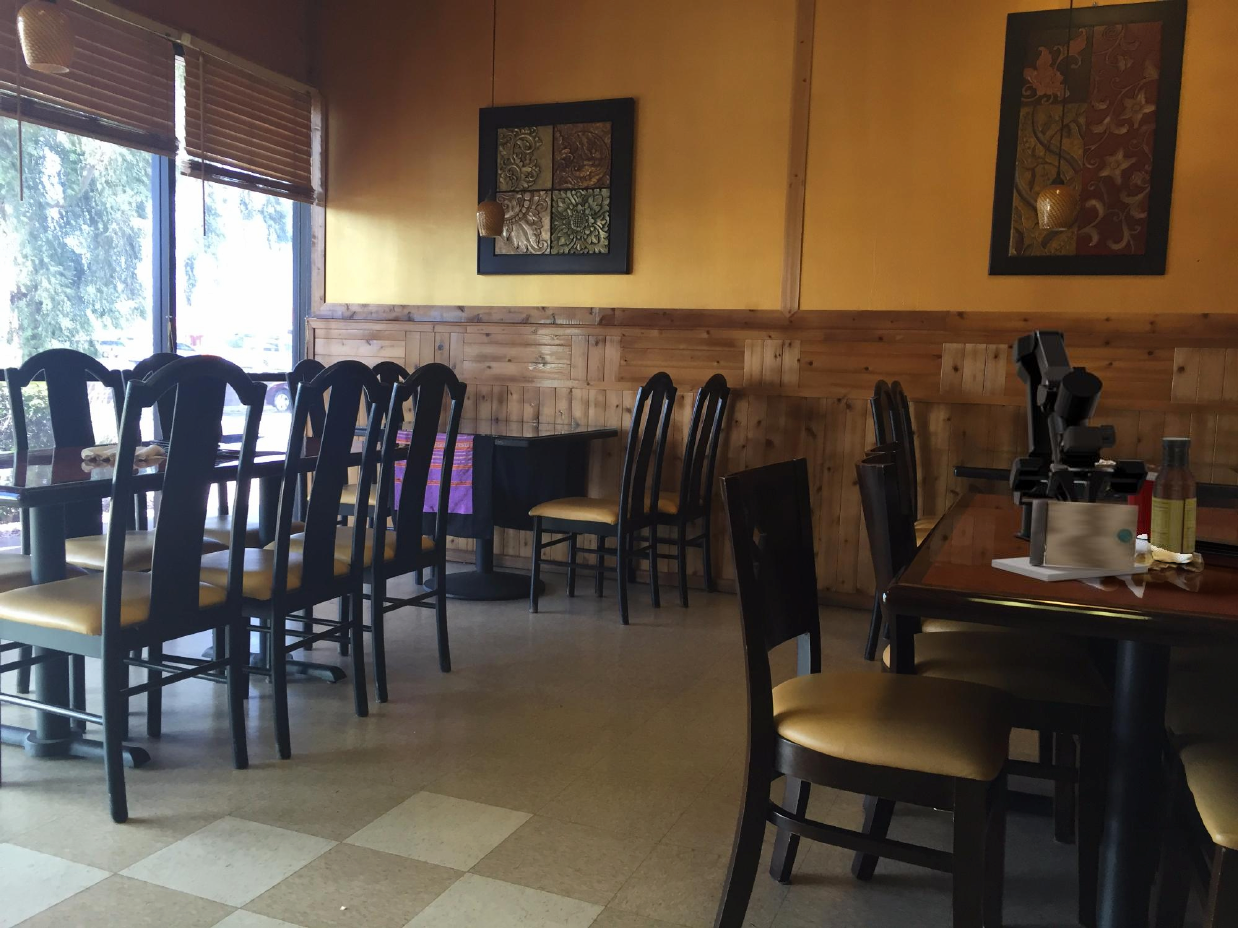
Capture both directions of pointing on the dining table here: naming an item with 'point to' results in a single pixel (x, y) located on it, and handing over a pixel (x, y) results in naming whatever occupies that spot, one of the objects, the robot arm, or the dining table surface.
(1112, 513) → the door
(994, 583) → the dining table surface
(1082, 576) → the board
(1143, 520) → the plastic cup
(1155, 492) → the sauce bottle
